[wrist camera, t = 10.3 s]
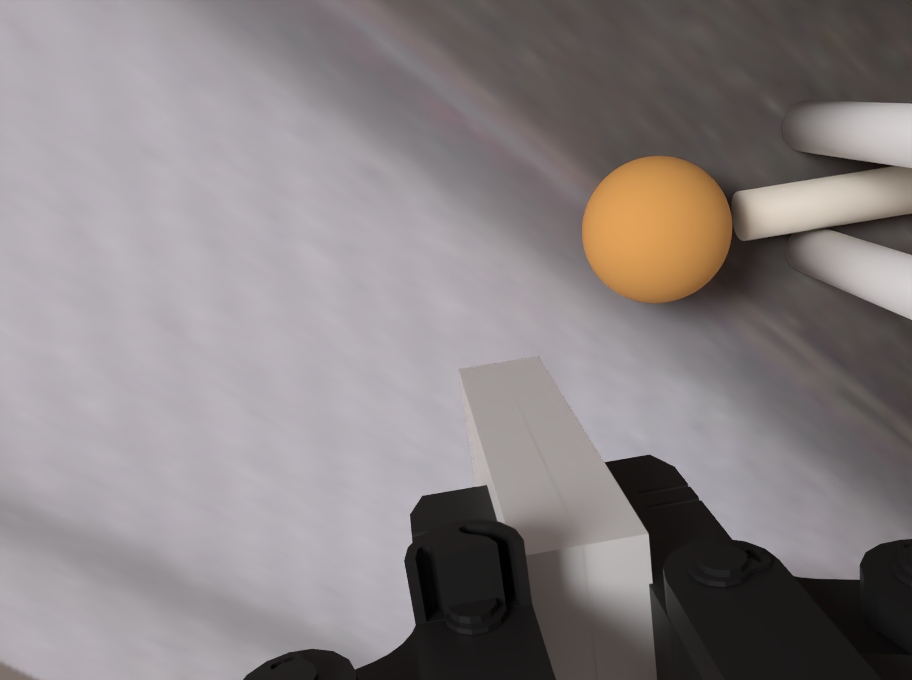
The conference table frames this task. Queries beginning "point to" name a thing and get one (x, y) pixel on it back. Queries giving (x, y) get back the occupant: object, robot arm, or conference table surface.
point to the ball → (657, 229)
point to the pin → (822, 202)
